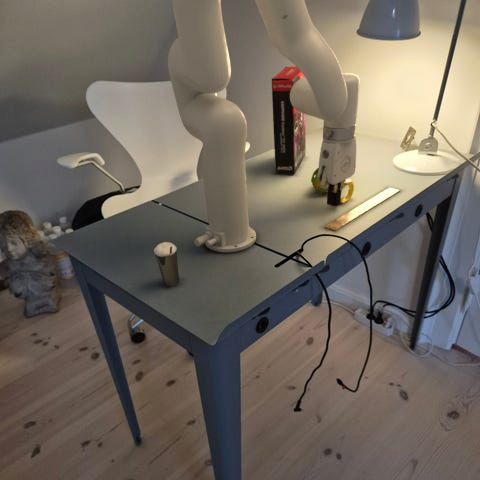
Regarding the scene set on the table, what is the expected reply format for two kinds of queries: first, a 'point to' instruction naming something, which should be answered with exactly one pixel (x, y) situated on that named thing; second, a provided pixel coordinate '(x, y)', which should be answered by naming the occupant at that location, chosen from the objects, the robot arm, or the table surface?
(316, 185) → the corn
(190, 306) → the table surface
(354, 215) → the ruler
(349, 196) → the watch
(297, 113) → the graphics card box
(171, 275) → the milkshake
